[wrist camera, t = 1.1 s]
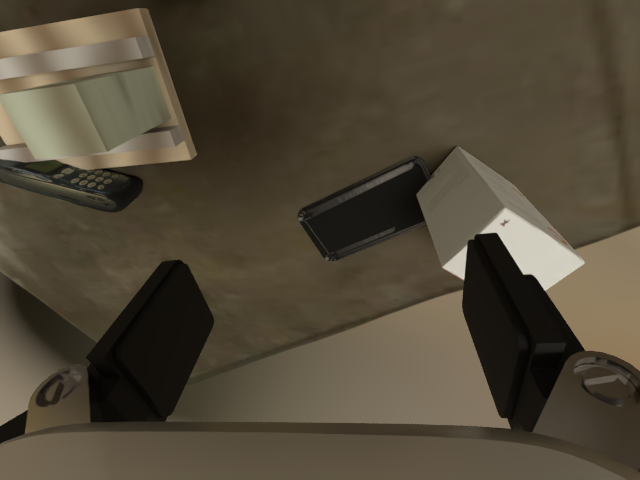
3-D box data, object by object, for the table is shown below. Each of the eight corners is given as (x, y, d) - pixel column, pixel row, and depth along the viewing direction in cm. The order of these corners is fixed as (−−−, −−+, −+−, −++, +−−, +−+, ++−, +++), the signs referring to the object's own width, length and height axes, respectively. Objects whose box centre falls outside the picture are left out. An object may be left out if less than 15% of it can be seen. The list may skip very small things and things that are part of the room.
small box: (414, 193, 36) (438, 267, 25) (456, 143, 32) (506, 205, 22) (470, 229, 37) (516, 313, 27) (516, 186, 34) (590, 262, 23)
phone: (294, 214, 38) (422, 154, 33) (296, 210, 39) (420, 150, 33) (328, 264, 41) (448, 216, 36) (329, 259, 42) (445, 212, 37)
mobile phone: (118, 195, 33) (-38, 158, 32) (122, 219, 35) (-26, 185, 34) (143, 174, 37) (5, 140, 36) (145, 196, 39) (14, 164, 38)
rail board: (37, 170, 38) (-69, 220, 29) (-44, 41, 31) (-218, 51, 22) (197, 154, 36) (138, 204, 26) (147, 8, 29) (42, 2, 19)
